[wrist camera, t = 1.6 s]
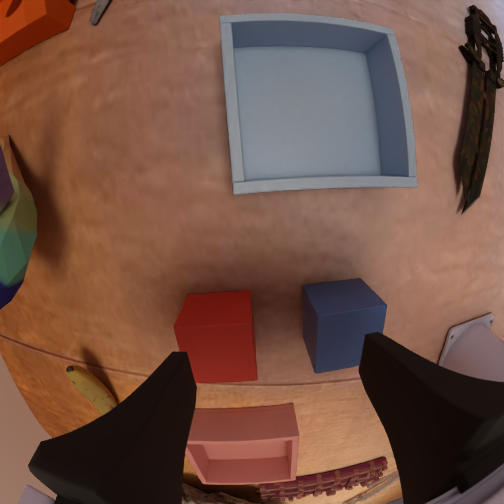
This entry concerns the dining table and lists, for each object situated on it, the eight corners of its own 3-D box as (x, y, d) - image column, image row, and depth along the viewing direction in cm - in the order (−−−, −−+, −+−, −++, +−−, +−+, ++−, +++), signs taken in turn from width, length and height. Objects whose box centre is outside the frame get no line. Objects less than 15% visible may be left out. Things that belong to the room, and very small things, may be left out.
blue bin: (385, 183, 17) (417, 187, 13) (236, 190, 17) (233, 195, 13) (368, 50, 14) (393, 28, 10) (224, 45, 14) (219, 15, 10)
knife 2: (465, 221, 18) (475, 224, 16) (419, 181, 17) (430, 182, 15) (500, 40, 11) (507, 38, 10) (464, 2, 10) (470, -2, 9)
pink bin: (291, 454, 25) (295, 480, 21) (205, 458, 25) (202, 484, 21) (293, 403, 22) (299, 435, 18) (184, 408, 22) (177, 440, 18)
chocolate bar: (254, 481, 27) (255, 492, 25) (384, 456, 27) (388, 466, 25) (258, 496, 29) (258, 506, 27) (373, 475, 29) (376, 483, 27)
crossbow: (390, 464, 28) (394, 472, 26) (420, 462, 31) (424, 468, 29) (322, 505, 31) (325, 513, 29) (361, 501, 34) (364, 507, 32)
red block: (255, 341, 20) (257, 380, 16) (198, 345, 20) (188, 383, 16) (250, 289, 18) (251, 322, 14) (187, 294, 18) (172, 326, 14)
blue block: (355, 328, 20) (377, 361, 16) (302, 336, 20) (314, 374, 16) (360, 277, 19) (387, 304, 14) (302, 284, 19) (317, 315, 14)
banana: (77, 343, 20) (57, 369, 16) (97, 346, 20) (77, 373, 16) (112, 416, 23) (100, 441, 19) (130, 419, 23) (120, 446, 19)
